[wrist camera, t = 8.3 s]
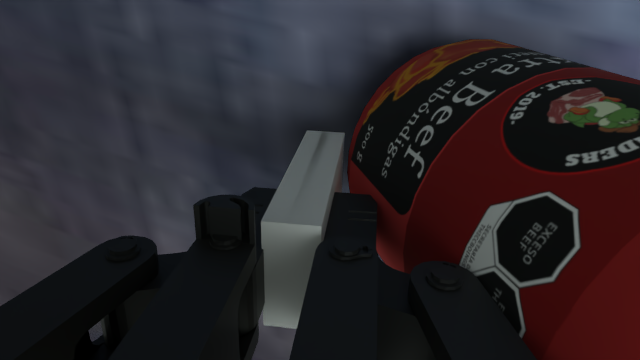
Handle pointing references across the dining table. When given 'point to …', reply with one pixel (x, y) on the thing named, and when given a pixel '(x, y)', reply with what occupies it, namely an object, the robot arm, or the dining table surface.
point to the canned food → (514, 187)
